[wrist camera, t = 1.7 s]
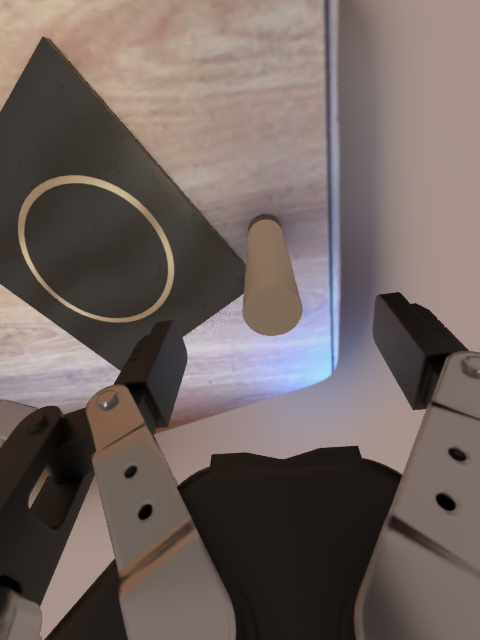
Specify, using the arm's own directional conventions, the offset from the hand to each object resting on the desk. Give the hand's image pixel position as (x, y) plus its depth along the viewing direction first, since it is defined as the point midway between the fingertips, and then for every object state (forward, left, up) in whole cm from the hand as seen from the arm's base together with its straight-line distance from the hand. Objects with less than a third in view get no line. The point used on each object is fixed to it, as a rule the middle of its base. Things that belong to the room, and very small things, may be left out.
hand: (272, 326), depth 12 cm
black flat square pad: (-7, -12, -13) cm, 19 cm away
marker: (0, 0, -13) cm, 13 cm away
